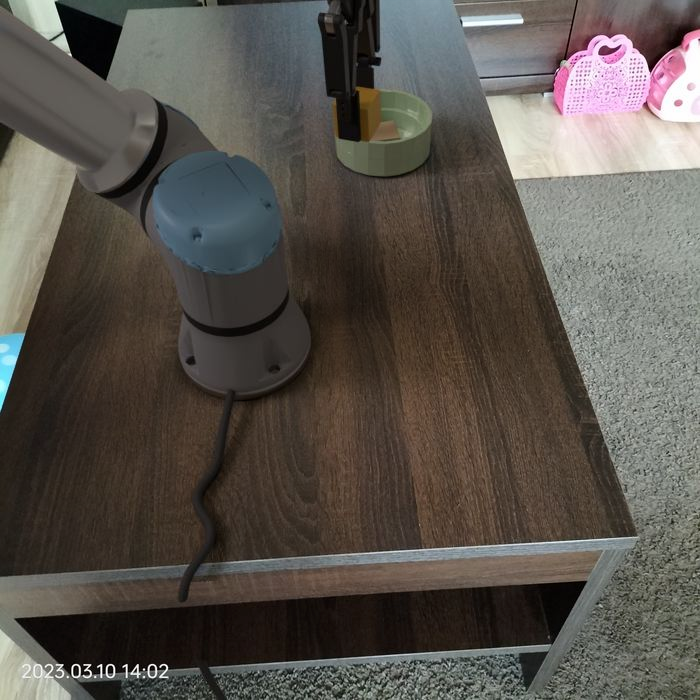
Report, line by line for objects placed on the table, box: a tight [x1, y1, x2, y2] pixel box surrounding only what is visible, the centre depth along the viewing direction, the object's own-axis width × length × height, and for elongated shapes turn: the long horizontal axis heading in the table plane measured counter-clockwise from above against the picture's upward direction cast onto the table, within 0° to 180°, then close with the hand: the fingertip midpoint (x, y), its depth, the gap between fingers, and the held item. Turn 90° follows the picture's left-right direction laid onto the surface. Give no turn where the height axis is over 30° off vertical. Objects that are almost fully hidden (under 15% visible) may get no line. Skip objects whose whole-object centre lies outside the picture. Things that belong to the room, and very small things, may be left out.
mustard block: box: [332, 86, 381, 142], centre depth 89 cm, size 4×4×4 cm
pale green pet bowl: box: [333, 88, 434, 177], centre depth 108 cm, size 14×14×6 cm
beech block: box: [370, 121, 401, 141], centre depth 106 cm, size 4×4×4 cm
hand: (357, 126), depth 91 cm, fingers closed on mustard block, 4 cm apart
